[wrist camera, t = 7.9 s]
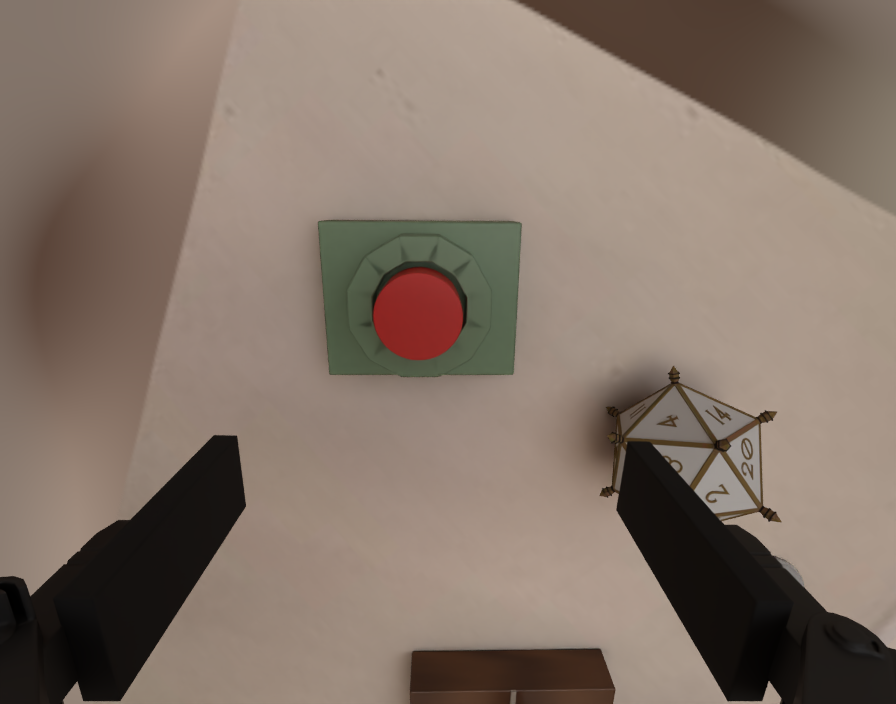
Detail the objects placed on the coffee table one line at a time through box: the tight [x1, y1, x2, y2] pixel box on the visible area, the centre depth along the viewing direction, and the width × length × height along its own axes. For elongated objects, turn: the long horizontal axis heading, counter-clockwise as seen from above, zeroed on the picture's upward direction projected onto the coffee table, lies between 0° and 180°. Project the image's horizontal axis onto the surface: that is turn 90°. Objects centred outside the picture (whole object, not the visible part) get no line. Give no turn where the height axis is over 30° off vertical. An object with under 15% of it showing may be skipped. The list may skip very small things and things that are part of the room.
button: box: [373, 267, 463, 360], centre depth 21 cm, size 4×4×2 cm
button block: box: [318, 220, 522, 377], centre depth 24 cm, size 10×8×4 cm
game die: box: [599, 366, 781, 522], centre depth 25 cm, size 9×8×10 cm
